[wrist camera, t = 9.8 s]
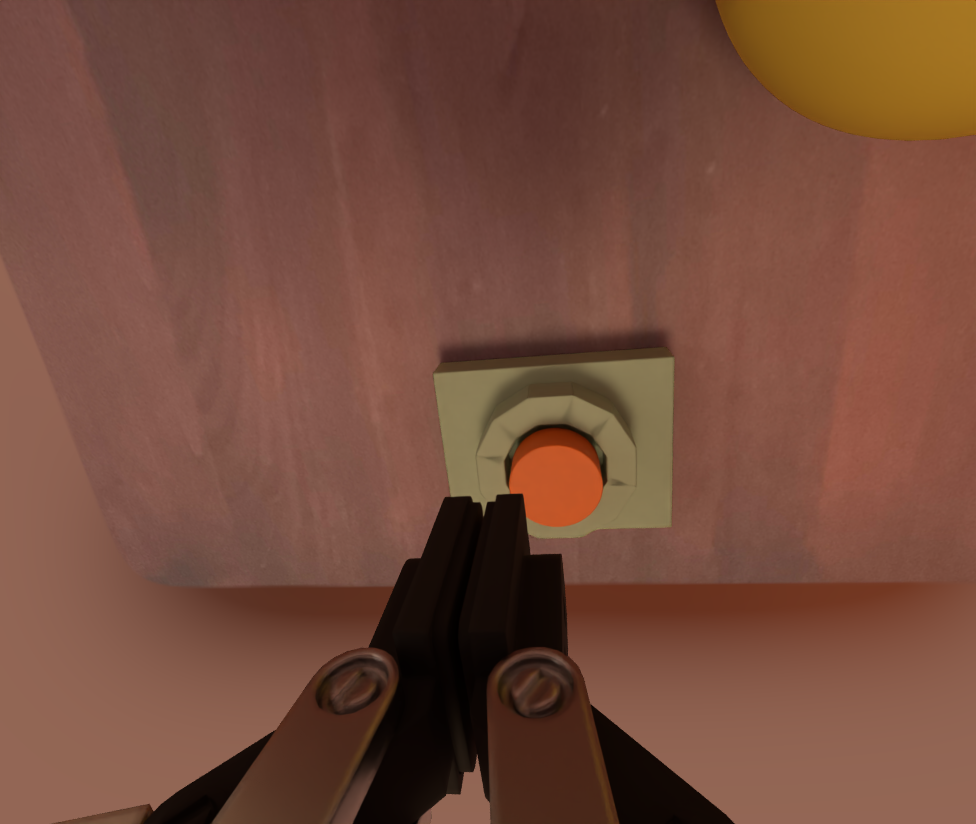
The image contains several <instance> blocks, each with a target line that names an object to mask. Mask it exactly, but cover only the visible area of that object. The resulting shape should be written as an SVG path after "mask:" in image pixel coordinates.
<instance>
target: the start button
mask: <svg viewBox="0 0 976 824" xmlns="http://www.w3.org/2000/svg"><path fill="white" fill-rule="evenodd" d="M509 490H510V494H517V493H523V496H524V503H525V512H526V517H527V518H528V519H530V520H532V521H534V522H536V523H538V524H541V525H545V526H550V527H564V526H569V525H573V524H576V523H578V522H580V521H582V520H583V519H585V518H586V517H588V516H589V515H590V514H591V513H592V512H593V511H594V510H595V508H596V507H597V506H598V504H599V502H600V499H601V497H602V492H603V480H602V474H601V469H600V463H599V459H598V455H597V453H596V451H595V449H594V447H593V446H592V445H591V443H590V442H589V441H588V440H587V439H586V438H584V437H583V436H582V435H580V434H578V433H576V432H574V431H572V430H569V429H565V428H546V429H542V430H539V431H536V432H534V433H532V434H531V435H529V436H528V437H526V438H525V439H524V440H523V441H522V442H521V443H520V445H519V446H518V448H517V449H516V451H515V453H514V457H513V461H512V467H511V473H510V479H509Z"/></svg>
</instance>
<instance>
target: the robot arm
mask: <svg viewBox="0 0 976 824" xmlns="http://www.w3.org/2000/svg"><path fill="white" fill-rule="evenodd" d="M477 755H478V760H479V766H480V771H481V777H482V782H483V788H484V793H485V797H486V799H487V800H488V801H489V802H490V819H491V824H734V823H733V822H732V821H731V820H730V818H728V817H727V815H726V814H724V813H723V812H722V811H721V810H720V809H718V808H717V807H716V806H715V805H713V804H712V803H711V802H710V801H709V800H707V799H706V798H705V797H704V796H702V795H701V794H700V793H699V792H697V791H696V790H695V789H694V788H693V787H691V786H690V785H689V784H688V783H686V782H685V781H684V780H683V779H682V778H680V777H679V776H678V775H677V774H675V773H674V772H673V771H672V770H671V769H669V768H668V767H667V766H666V765H664V764H663V763H662V762H661V761H659V760H658V759H657V758H656V757H655V756H653V755H652V754H651V753H650V752H649V751H647V750H646V749H645V748H643V747H642V746H641V745H640V744H639V743H638V742H636V741H635V740H634V739H633V738H631V737H630V736H629V735H628V734H627V733H625V732H624V731H623V730H622V729H620V728H619V727H618V726H617V725H615V724H614V723H613V722H612V721H611V720H609V719H608V718H607V717H606V716H605V715H603V714H602V713H601V712H600V711H598V710H597V709H596V708H595V707H593V706H592V705H591V704H590V701H589V697H588V693H587V689H586V685H585V681H584V678H583V675H582V674H581V671H580V669H579V667H578V666H577V664H576V663H575V662H574V661H573V660H572V659H571V658H570V657H569V656H568V639H567V613H566V597H565V584H564V573H563V562H562V555H561V554H541V555H530V547H529V538H528V529H527V520H526V512H525V503H524V496H523V493H517V494H498V495H497V496H496V500H495V501H491V502H487V505H486V509H485V513H484V516H483V509H482V505H481V502H473V500H472V497H471V496H456V497H445V498H444V500H443V503H442V505H441V508H440V510H439V513H438V515H437V518H436V521H435V523H434V526H433V528H432V531H431V534H430V536H429V539H428V541H427V544H426V546H425V549H424V552H423V554H422V557H421V558H414V559H408V560H407V561H406V562H405V564H404V566H403V568H402V570H401V573H400V575H399V577H398V580H397V582H396V584H395V587H394V589H393V591H392V594H391V596H390V598H389V601H388V603H387V605H386V608H385V610H384V613H383V615H382V617H381V619H380V622H379V624H378V626H377V629H376V631H375V634H374V636H373V638H372V640H371V643H370V645H369V647H368V648H359V649H354V650H351V651H347V652H345V653H343V654H340V655H338V656H336V657H334V658H333V659H331V660H330V661H329V662H327V663H326V664H325V665H323V666H322V667H321V668H320V669H319V670H318V672H317V673H316V674H315V675H314V676H313V678H312V679H311V680H310V682H309V683H308V684H307V686H306V687H305V689H304V690H303V692H302V693H301V695H300V696H299V698H298V699H297V700H296V702H295V703H294V705H293V706H292V708H291V709H290V710H289V712H288V713H287V715H286V716H285V718H284V719H283V721H282V722H281V723H280V725H279V726H278V728H277V729H276V730H275V731H273V732H271V733H270V734H268V735H267V736H265V737H264V738H262V739H260V740H259V741H257V742H256V743H254V744H252V745H251V746H249V747H248V748H246V749H244V750H243V751H241V752H240V753H238V754H237V755H235V756H233V757H232V758H230V759H229V760H227V761H226V762H224V763H222V764H221V765H219V766H218V767H216V768H214V769H213V770H211V771H210V772H208V773H206V774H205V775H203V776H202V777H200V778H199V779H197V780H195V781H194V782H192V783H191V784H189V785H187V786H186V787H184V788H183V789H181V790H179V791H178V792H177V793H175V794H174V795H173V796H171V797H170V798H169V799H167V800H166V801H165V802H164V803H162V804H161V805H160V806H159V807H158V808H157V809H156V810H155V811H153V810H152V808H151V806H150V804H147V805H141V806H136V807H132V808H127V809H121V810H117V811H112V812H107V813H102V814H97V815H92V816H87V817H82V818H78V819H73V820H68V821H63V822H58V823H53V824H430V823H431V818H432V815H431V808H432V807H433V806H434V805H435V804H436V803H437V802H439V801H440V800H441V799H442V798H443V797H445V796H446V794H461V788H462V781H463V774H464V772H473V771H474V768H475V764H476V757H477Z"/></svg>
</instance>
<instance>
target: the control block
mask: <svg viewBox="0 0 976 824" xmlns="http://www.w3.org/2000/svg"><path fill="white" fill-rule="evenodd" d="M674 362H675V358H674V356H673V355H672V353H671V352H670V351H669V350H668V349H667V347H656V348H642V349H628V350H614V351H600V352H586V353H572V354H558V355H544V356H530V357H516V358H502V359H488V360H474V361H460V362H446V363H440V364H439V366H438V367H437V369H436V370H435V371H434V373H433V379H434V386H435V393H436V400H437V407H438V414H439V420H440V427H441V434H442V441H443V448H444V455H445V462H446V469H447V476H448V483H449V489H450V496H451V497H456V496H471V497H472V500H473V502H481V505H482V509H483V516H484V513H485V509H486V505H487V502H491V501H495V500H496V496H497V495H498V494H510V490H509V479H510V473H511V467H512V461H513V457H514V453H515V451H516V449H517V448H518V446H519V445H520V443H521V442H522V441H523V440H524V439H525V438H526V437H528V436H529V435H531V434H532V433H534V432H536V431H539V430H542V429H546V428H565V429H569V430H572V431H574V432H576V433H578V434H580V435H582V436H583V437H584V438H586V439H587V440H588V441H589V442H590V443H591V445H592V446H593V447H594V449H595V451H596V453H597V455H598V459H599V463H600V469H601V474H602V480H603V492H602V497H601V499H600V502H599V504H598V506H597V507H596V508H595V510H594V511H593V512H592V513H591V514H590V515H589V516H588V517H586V518H585V519H583V520H582V521H580V522H578V523H576V524H573V525H569V526H564V527H550V526H545V525H541V524H538V523H536V522H534V521H532V520H530V519H528V518H527V517H526V520H527V529H528V534H530V535H532V536H534V537H537V538H542V539H543V538H579V537H583V536H585V535H587V534H589V533H591V532H593V531H595V530H597V529H619V528H662V527H671V525H672V470H673V416H674Z"/></svg>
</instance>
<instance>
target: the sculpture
mask: <svg viewBox="0 0 976 824" xmlns="http://www.w3.org/2000/svg"><path fill="white" fill-rule="evenodd" d="M715 1H716V4H717V7H718V10H719V13H720V17H721V19H722V22H723V24H724V26H725V29H726V31H727V34H728V36H729V38H730V40H731V42H732V44H733V46H734V48H735V49H736V51H737V53H738V54H739V56H740V58H741V59H742V61H743V62H744V64H745V65H746V66H747V68H748V69H749V70H750V72H751V73H752V74H753V75H754V76H755V77H756V78H757V80H758V81H759V82H760V83H761V84H762V85H763V86H764V87H765V88H766V89H767V90H768V91H769V92H770V93H771V94H773V95H774V96H775V97H776V98H777V99H778V100H780V101H781V102H782V103H784V104H785V105H787V106H788V107H789V108H791V109H792V110H794V111H795V112H797V113H799V114H801V115H803V116H804V117H806V118H808V119H810V120H812V121H815V122H817V123H819V124H821V125H824V126H827V127H830V128H833V129H835V130H839V131H842V132H846V133H850V134H854V135H859V136H864V137H871V138H877V139H889V140H905V141H912V140H939V139H948V138H955V137H962V136H969V135H976V0H715Z"/></svg>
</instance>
